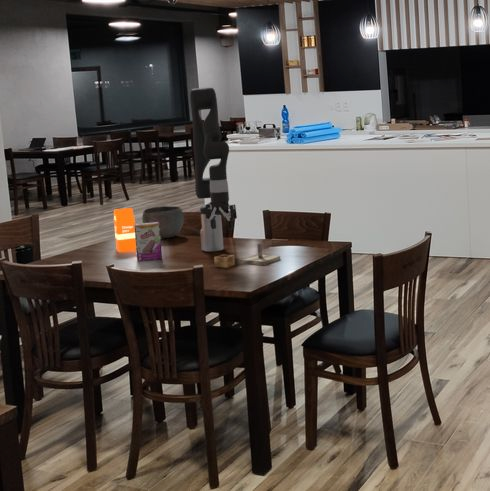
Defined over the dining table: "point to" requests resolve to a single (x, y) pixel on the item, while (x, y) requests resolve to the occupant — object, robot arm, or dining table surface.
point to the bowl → (165, 219)
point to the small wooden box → (224, 261)
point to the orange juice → (124, 230)
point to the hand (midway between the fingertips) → (222, 229)
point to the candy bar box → (148, 241)
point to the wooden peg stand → (260, 258)
